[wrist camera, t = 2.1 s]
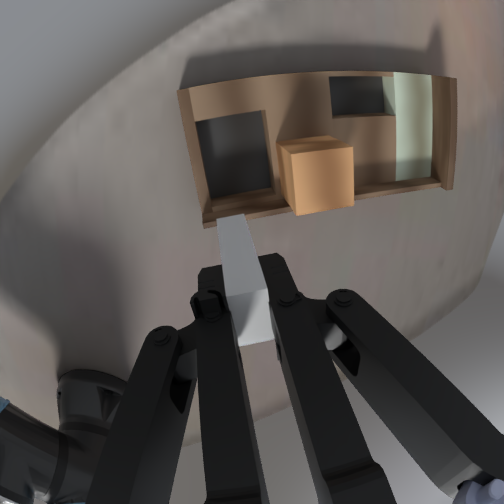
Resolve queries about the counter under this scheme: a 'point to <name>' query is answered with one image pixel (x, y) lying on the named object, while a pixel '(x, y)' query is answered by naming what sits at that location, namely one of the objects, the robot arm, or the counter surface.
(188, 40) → the counter surface
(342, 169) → the block
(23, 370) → the counter surface
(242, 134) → the tray
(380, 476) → the robot arm
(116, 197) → the counter surface
